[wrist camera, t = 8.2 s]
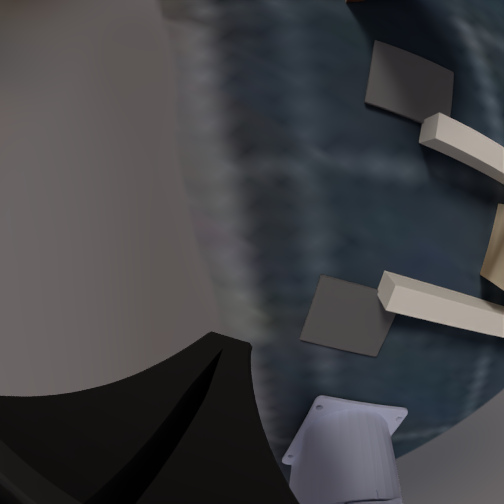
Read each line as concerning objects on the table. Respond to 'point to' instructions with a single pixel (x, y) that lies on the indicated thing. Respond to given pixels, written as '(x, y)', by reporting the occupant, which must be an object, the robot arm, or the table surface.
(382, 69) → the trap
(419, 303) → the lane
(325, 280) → the plate
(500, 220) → the birch block
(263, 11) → the table surface
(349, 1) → the food container
